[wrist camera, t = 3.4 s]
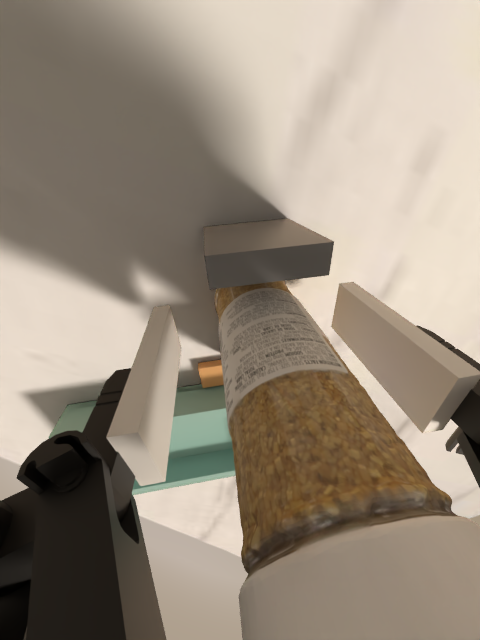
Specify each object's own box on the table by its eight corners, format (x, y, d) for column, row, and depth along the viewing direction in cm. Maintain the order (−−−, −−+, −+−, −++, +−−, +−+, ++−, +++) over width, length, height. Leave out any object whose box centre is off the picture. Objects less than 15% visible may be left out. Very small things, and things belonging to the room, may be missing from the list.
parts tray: (67, 404, 17) (48, 437, 15) (253, 375, 18) (260, 402, 16) (116, 469, 22) (108, 499, 20) (257, 443, 23) (262, 470, 21)
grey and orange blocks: (167, 230, 11) (147, 262, 7) (320, 214, 12) (383, 236, 8) (202, 382, 17) (202, 447, 13) (303, 366, 18) (333, 423, 14)
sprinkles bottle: (280, 325, 16) (482, 712, 4) (213, 328, 15) (248, 791, 4) (291, 260, 13) (809, 756, 2) (211, 260, 13) (298, 1008, 1)
